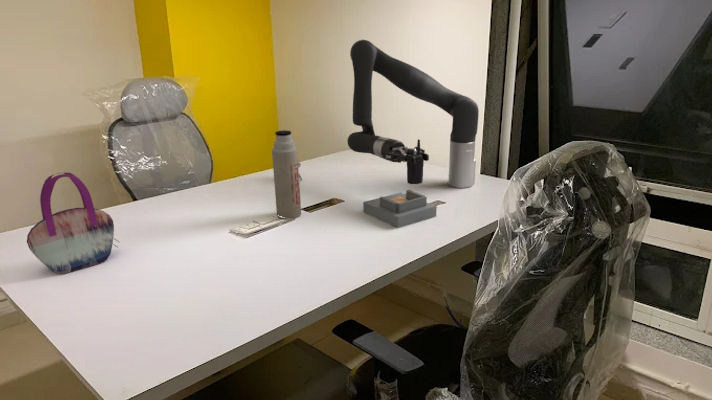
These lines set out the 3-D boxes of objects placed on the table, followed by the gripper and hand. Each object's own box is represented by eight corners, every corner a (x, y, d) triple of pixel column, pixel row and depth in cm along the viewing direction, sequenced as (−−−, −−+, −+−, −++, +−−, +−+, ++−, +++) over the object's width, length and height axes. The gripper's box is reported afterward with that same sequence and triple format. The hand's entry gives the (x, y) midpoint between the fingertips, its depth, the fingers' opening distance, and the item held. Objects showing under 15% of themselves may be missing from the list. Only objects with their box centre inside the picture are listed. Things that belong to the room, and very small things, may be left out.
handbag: (115, 245, 148) (99, 162, 140) (127, 256, 141) (111, 169, 133) (31, 269, 135) (8, 178, 127) (39, 282, 128) (15, 186, 120)
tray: (400, 201, 179) (400, 184, 177) (436, 216, 165) (436, 197, 163) (363, 211, 171) (363, 193, 169) (398, 227, 157) (398, 207, 155)
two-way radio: (422, 181, 172) (423, 138, 167) (424, 185, 168) (425, 141, 163) (406, 181, 172) (406, 138, 167) (407, 186, 168) (407, 142, 163)
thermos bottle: (306, 213, 170) (301, 130, 161) (289, 221, 164) (283, 134, 155) (288, 209, 175) (283, 127, 166) (271, 216, 169) (265, 132, 160)
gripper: (372, 141, 173) (404, 151, 160) (404, 135, 181) (438, 144, 168) (372, 163, 176) (404, 174, 163) (404, 156, 184) (437, 166, 170)
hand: (421, 159), depth 165 cm, fingers closed on two-way radio, 5 cm apart
